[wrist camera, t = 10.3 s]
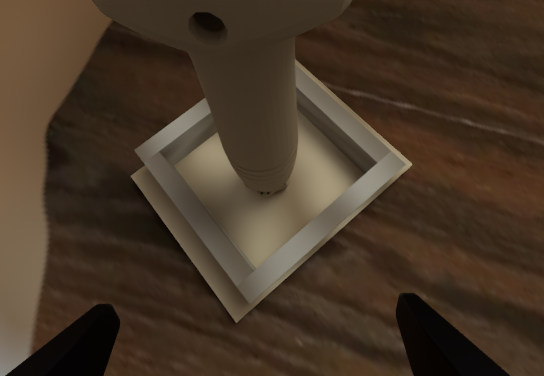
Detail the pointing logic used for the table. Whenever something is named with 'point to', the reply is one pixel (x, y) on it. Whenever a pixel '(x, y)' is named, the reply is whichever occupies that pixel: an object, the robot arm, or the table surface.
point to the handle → (239, 70)
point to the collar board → (258, 210)
